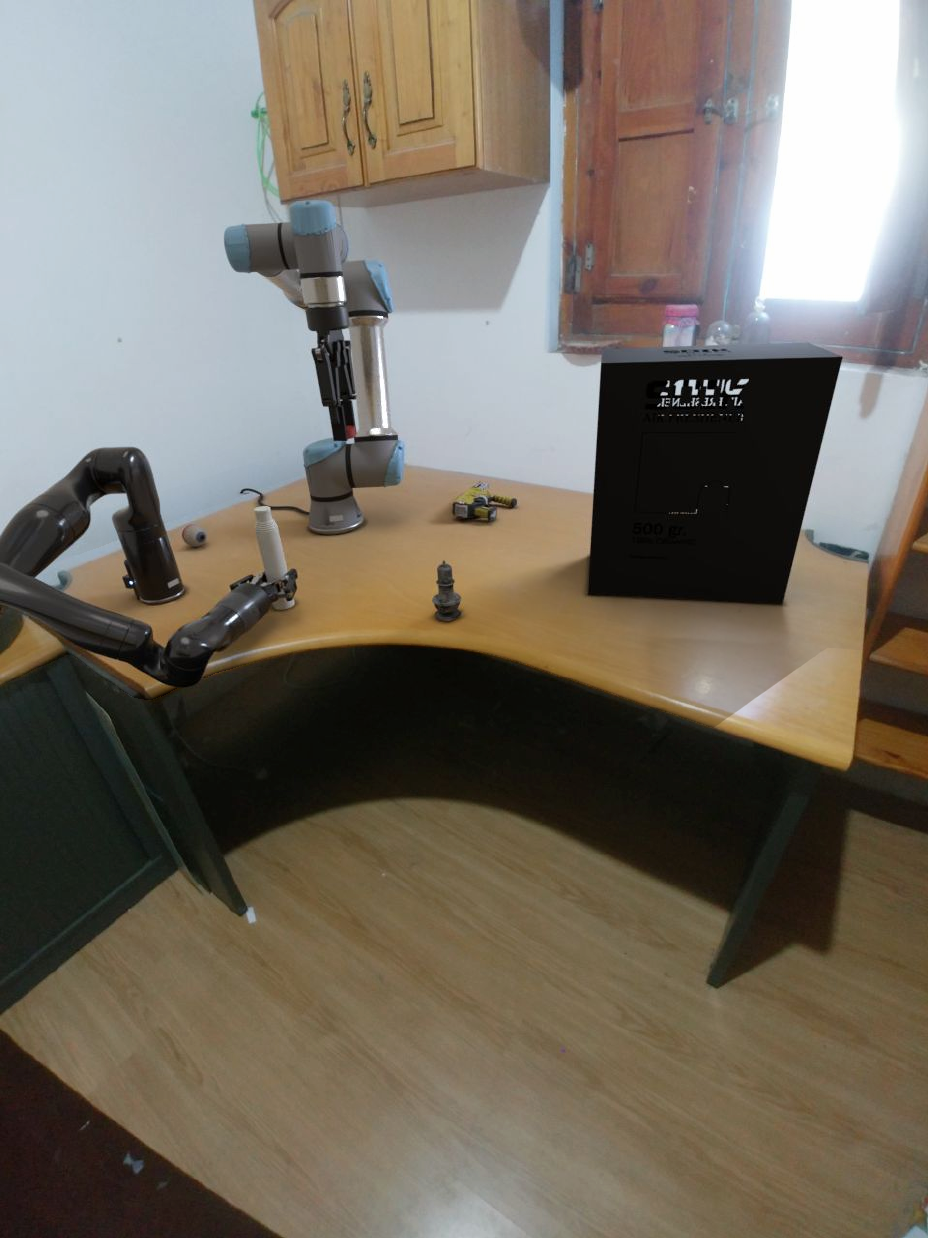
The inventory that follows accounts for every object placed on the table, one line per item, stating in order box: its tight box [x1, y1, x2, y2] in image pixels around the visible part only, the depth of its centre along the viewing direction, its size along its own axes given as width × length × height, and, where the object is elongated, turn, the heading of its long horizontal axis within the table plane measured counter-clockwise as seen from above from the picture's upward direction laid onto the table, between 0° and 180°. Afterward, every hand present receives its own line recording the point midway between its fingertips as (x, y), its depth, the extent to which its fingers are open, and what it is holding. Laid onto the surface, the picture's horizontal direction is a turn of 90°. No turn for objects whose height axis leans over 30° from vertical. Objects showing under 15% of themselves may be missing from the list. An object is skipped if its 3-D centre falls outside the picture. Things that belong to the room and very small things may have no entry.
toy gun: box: [451, 480, 518, 523], centre depth 174 cm, size 5×24×15 cm
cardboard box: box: [587, 342, 844, 605], centre depth 120 cm, size 38×20×45 cm, turn 78°
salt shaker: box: [431, 560, 462, 622], centre depth 119 cm, size 6×6×12 cm
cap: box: [346, 425, 357, 440], centre depth 119 cm, size 4×4×2 cm
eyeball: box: [181, 523, 208, 548], centre depth 159 cm, size 6×6×6 cm
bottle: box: [253, 505, 296, 611], centre depth 124 cm, size 4×4×22 cm
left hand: (284, 571), depth 128 cm, fingers closed on bottle, 4 cm apart
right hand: (345, 437), depth 120 cm, fingers closed on cap, 4 cm apart
